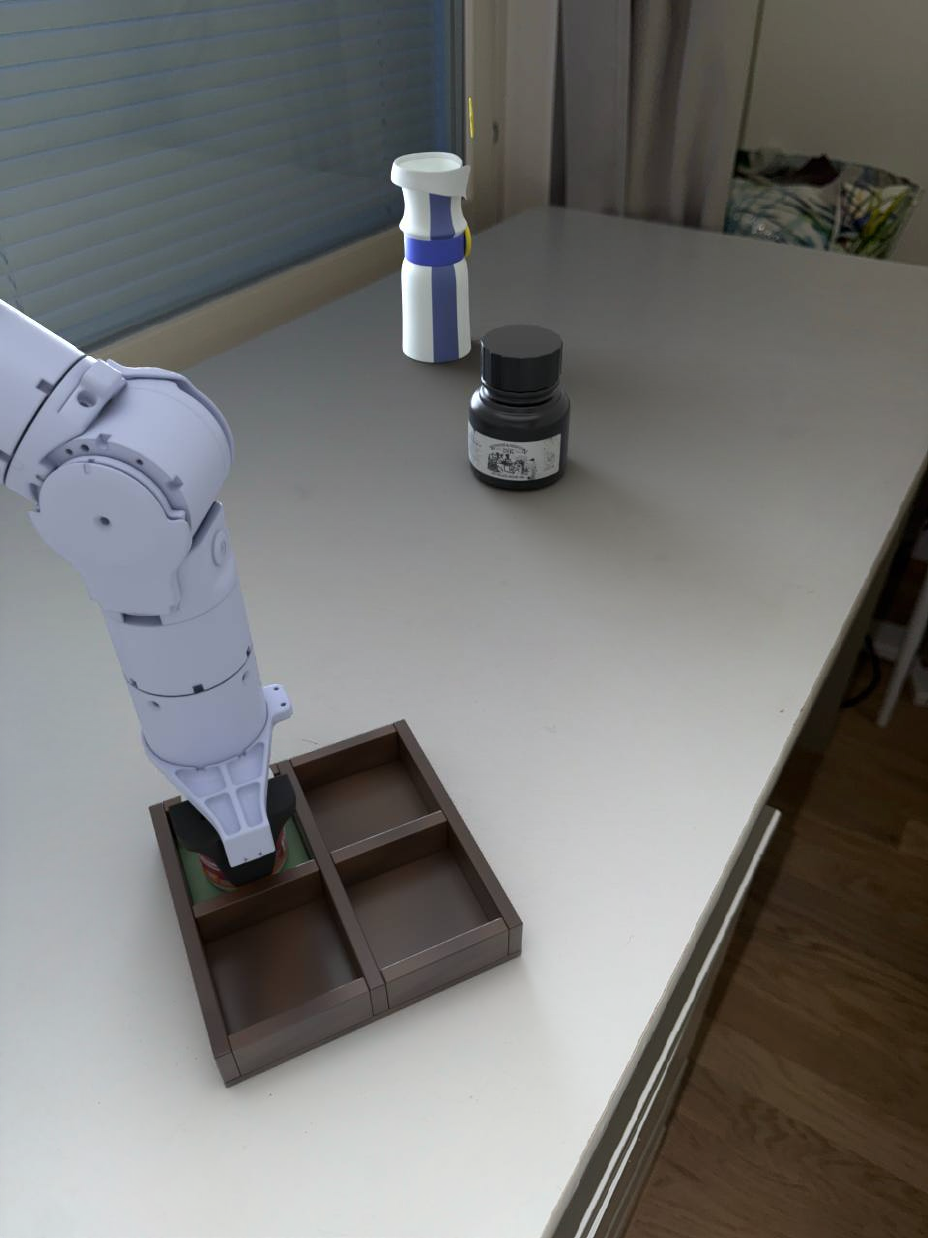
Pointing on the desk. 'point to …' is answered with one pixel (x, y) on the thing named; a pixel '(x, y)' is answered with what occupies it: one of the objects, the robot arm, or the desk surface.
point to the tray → (340, 906)
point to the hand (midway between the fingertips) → (239, 837)
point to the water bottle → (434, 255)
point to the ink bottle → (519, 409)
